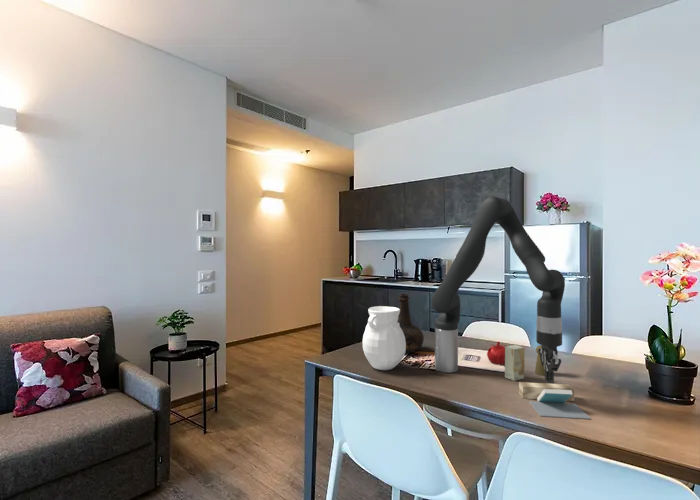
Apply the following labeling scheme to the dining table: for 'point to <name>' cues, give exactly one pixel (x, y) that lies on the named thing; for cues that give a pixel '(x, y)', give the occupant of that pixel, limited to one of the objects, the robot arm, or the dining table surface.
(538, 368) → the olive pawn figure
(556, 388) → the beech block
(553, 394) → the tile
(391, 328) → the pitcher
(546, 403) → the mat
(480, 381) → the dining table surface
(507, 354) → the skincare box
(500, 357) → the pomegranate
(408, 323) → the glass bottle
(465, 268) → the robot arm
